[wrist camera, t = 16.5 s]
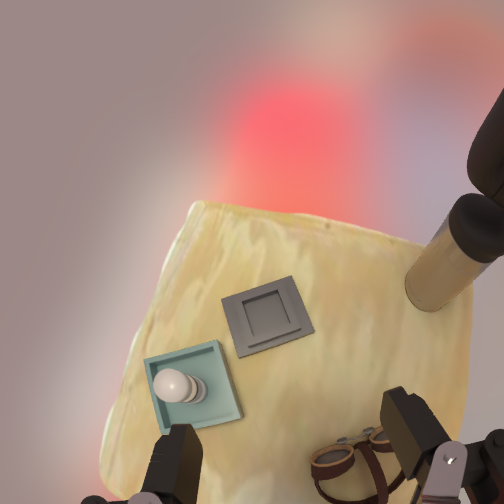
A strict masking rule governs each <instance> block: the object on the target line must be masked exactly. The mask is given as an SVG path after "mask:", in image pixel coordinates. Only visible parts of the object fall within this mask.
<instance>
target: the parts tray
mask: <svg viewBox="0 0 504 504" xmlns="http://www.w3.org/2000/svg"><path fill="white" fill-rule="evenodd" d="M144 364H145V369H146V374H147V379H148V384H149V388H150V393H151V397H152V401H153V405H154V409H155V413H156V417H157V421H158V424H159V428H160V432H161V435H162V434H169V432H170V429H171V426H172V424H191V425H192V426H193V428H194V429H197V428H202V427H207V426H211V425H216V424H220V423H224V422H228V421H232V420H236V419H240V418H243V417H244V414H243V411H242V408H241V405H240V402H239V399H238V396H237V393H236V390H235V386H234V383H233V380H232V377H231V374H230V370H229V367H228V364H227V360H226V357H225V354H224V350H223V347H222V344H221V343H220V342H219V341H218V340H217V339H216V340H213V341H210V342H206V343H203V344H199V345H196V346H192V347H189V348H185V349H182V350H178V351H174V352H171V353H167V354H163V355H159V356H155V357H151V358H147V359H144ZM169 368H170V369H174V370H177V371H180V372H183V373H185V374H187V375H190V376H194V377H197V378H200V379H202V380H203V381H204V382H205V383H206V385H207V387H208V395H207V397H206V399H205V400H204V401H202V402H201V403H197V404H191V403H181V402H180V403H173V402H165V401H163V400H161V399H160V398H159V397H158V396H157V395H156V393H155V391H154V387H153V382H154V378H155V376H156V375H157V374H158V373H159V372H160V371H161V370H163V369H169Z"/></svg>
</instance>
